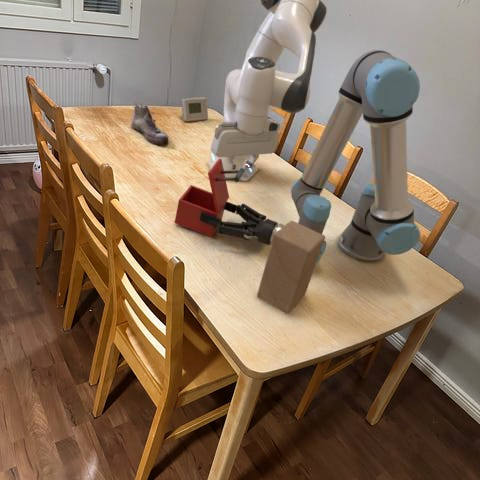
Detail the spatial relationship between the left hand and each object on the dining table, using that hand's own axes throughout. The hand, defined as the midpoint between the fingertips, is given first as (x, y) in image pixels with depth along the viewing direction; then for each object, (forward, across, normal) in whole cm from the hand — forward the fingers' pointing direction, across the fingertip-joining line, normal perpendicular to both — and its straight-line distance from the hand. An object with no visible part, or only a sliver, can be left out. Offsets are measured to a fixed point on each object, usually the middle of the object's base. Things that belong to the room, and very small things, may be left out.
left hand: (240, 168), depth 127 cm
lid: (+8, -4, +4) cm, 10 cm away
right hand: (+16, -4, +6) cm, 18 cm away
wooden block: (+23, -1, -31) cm, 39 cm away
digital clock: (+24, +40, +100) cm, 110 cm away
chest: (+22, -6, +8) cm, 25 cm away
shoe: (+23, +8, +80) cm, 84 cm away
